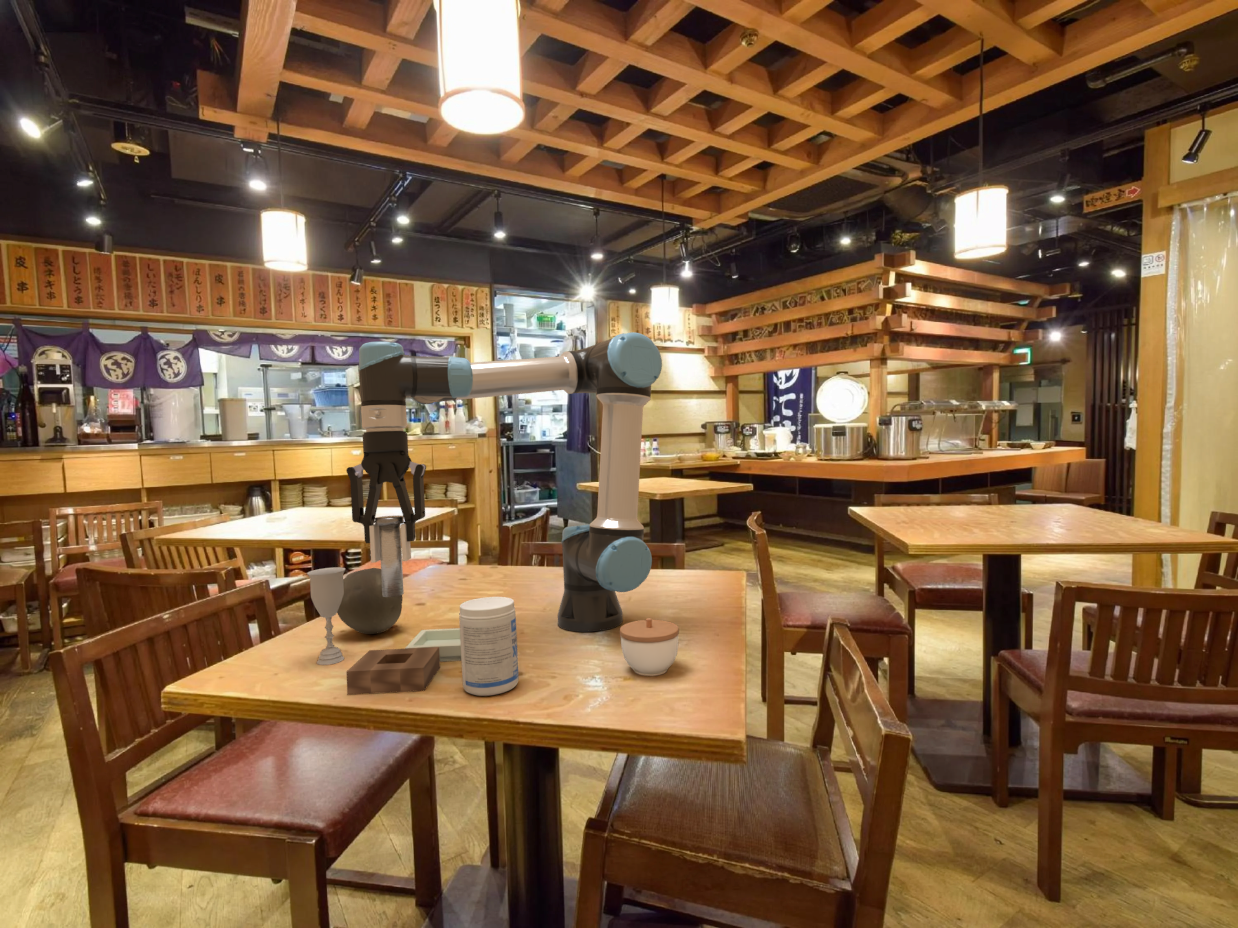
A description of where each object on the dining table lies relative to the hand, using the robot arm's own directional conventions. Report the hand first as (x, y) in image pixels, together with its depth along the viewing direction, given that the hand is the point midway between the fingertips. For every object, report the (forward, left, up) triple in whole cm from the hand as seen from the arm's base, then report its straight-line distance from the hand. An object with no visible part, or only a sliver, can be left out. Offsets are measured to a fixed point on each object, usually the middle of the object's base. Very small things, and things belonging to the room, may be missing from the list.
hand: (391, 560), depth 111 cm
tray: (-6, -15, -22) cm, 27 cm away
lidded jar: (-46, +1, -22) cm, 51 cm away
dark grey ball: (+15, -30, -22) cm, 40 cm away
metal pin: (0, 0, -6) cm, 6 cm away
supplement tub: (-18, +5, -22) cm, 29 cm away
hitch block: (0, 0, -22) cm, 22 cm away
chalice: (+17, -13, -22) cm, 31 cm away
